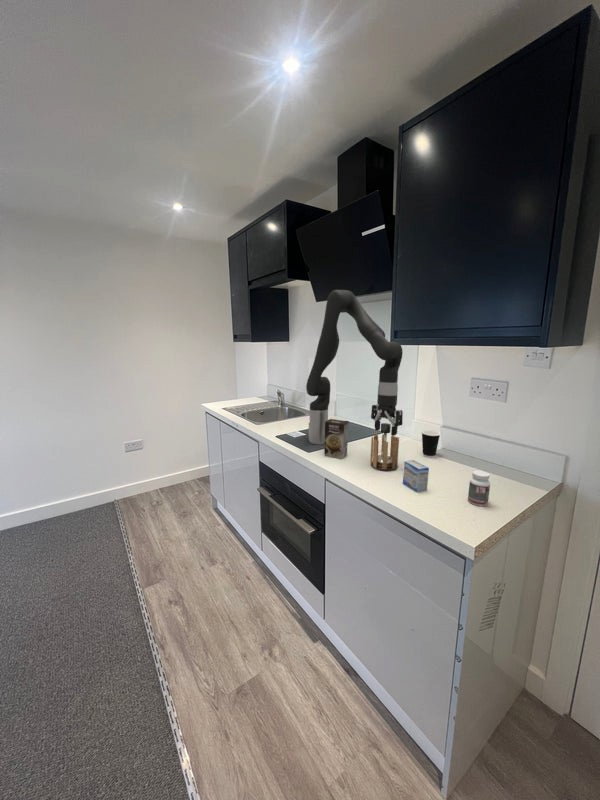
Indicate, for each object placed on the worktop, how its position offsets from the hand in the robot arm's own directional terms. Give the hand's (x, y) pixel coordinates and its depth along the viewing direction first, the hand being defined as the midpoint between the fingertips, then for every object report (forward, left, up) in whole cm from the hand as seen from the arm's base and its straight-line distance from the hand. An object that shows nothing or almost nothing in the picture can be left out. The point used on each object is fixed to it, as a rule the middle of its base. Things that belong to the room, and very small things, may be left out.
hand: (385, 432), depth 128 cm
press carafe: (0, +1, -14) cm, 14 cm away
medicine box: (+19, -5, -15) cm, 25 cm away
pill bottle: (+37, +3, -15) cm, 40 cm away
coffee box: (-20, -9, -15) cm, 26 cm away
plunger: (0, 0, -12) cm, 12 cm away
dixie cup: (+3, +26, -15) cm, 30 cm away
